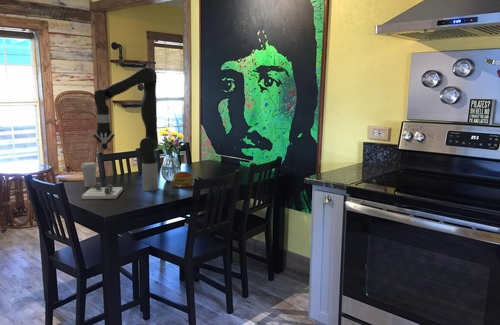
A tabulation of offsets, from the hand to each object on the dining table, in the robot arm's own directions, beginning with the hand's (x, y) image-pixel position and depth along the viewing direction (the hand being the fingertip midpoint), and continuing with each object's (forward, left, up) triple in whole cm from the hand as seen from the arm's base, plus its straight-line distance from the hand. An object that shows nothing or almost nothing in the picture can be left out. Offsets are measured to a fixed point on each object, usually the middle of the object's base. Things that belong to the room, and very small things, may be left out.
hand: (105, 149), depth 261 cm
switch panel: (-2, +17, -25) cm, 30 cm away
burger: (-48, 0, -25) cm, 54 cm away
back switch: (+2, +11, -23) cm, 25 cm away
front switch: (-6, +23, -23) cm, 33 cm away
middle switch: (-6, +17, -23) cm, 29 cm away
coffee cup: (+12, -6, -25) cm, 29 cm away
